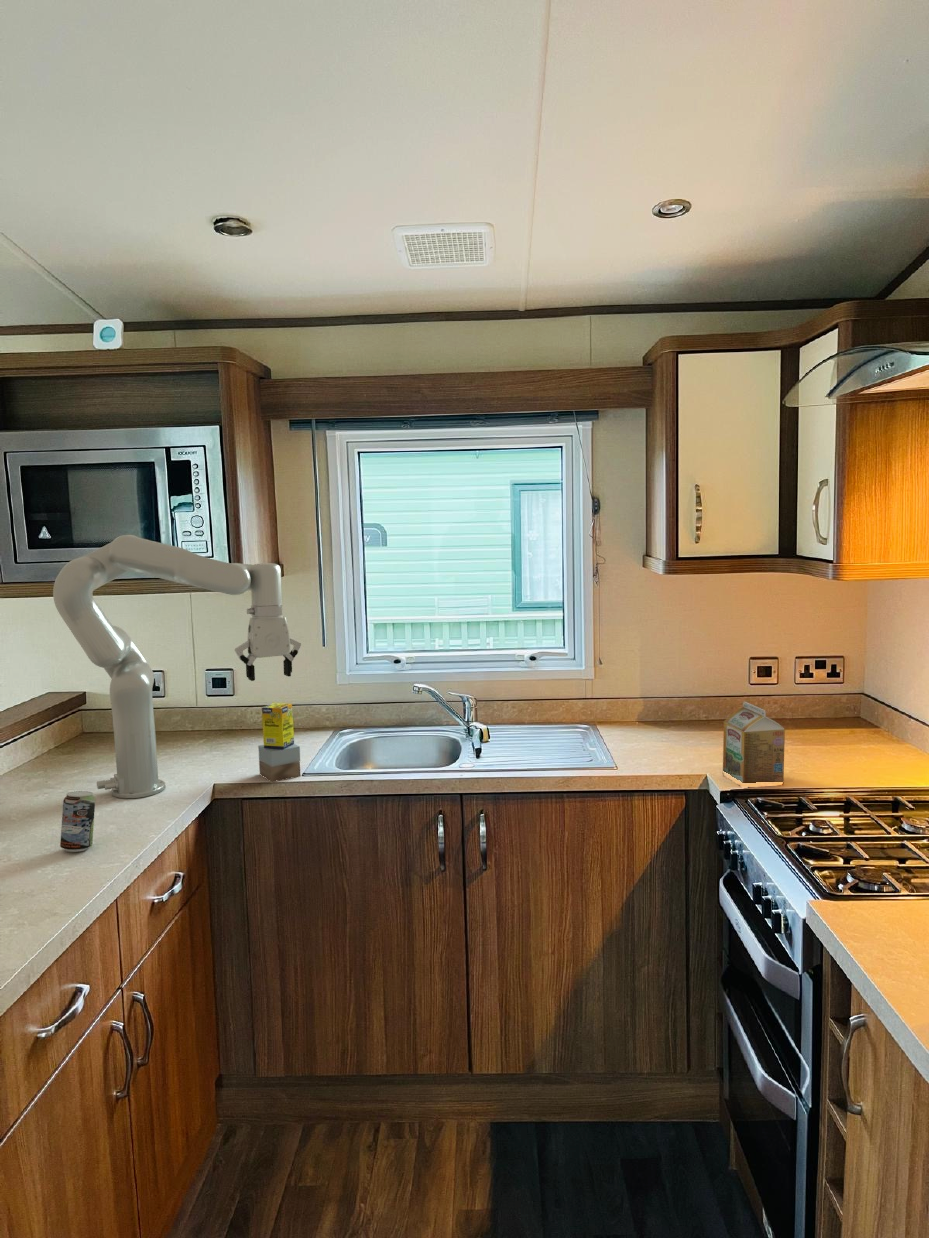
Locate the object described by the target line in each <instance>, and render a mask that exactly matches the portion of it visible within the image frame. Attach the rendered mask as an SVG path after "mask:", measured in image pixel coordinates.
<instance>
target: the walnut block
mask: <svg viewBox="0 0 929 1238" xmlns="http://www.w3.org/2000/svg"><path fill="white" fill-rule="evenodd" d="M258 764H259V765H258V766H259V767H258V769H259V775H260V774H261V775H262V776H261V775H260V776H261V777H263V776H264V777H266V778H267V779H268V781H269V780H270V781H269V782H271V783H273V782H277V781H276V780H279V781H283V780H282V779H284V780H287V779H286V778H289V779H292V778H291V777H294V778H297V777H298V776H299V777H301V761H299V762H294V763H289V764H285V765H280V766H275V767H271V766H269V765H267V764H265V763H263V762H261V761H260V760H259V761H258ZM264 777H263V778H264ZM299 777H298V778H299ZM266 778H265V779H266ZM267 779H266V780H267Z"/></svg>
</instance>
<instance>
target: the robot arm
mask: <svg viewBox="0 0 929 1238" xmlns="http://www.w3.org/2000/svg"><path fill="white" fill-rule="evenodd" d="M129 572H131V573H135V574H140V575H145V576H149V577H154V578H159V579H162V580H166V581H170V582H174V583H178V584H181V585H188V586H193V587H195V588H200V589H205V590H207V591H208V590H209V591H212V592H217V593H222V594H226V595H230V596H240V595H242V594H244V593H246V591H250V592H251V594H250V595H251V605H250V608H247V609H246V614H247V615H251V617H249V621H248V630H247V641H245V642H243V643H242V644H240V645H239V646H237V647H236V648H234V651H235V654H236V656H237V657H238V659H239V660H240V661H241V662H242V663H243V664H244V665H245V672H246V673H245V675H246V678H247V679H248V680H249V681H250V682H254V681H255V680H256V673H255V669H256V668H255V665H254V662H255V661H256V659H257V658H258V659H261V658H263V659H264V658H273V657H283V658H284V659H283V664H282V665H283V675H284V676H286V677H289V678H290V677H292V673H293V661H294V660H295V659H294V658H296V656H297V655H298V654H299V651H300V648H301V646H302V643H301V642H300V641H297V640H295V639H292V638H290V637H291V636H290V631H289V626H288V620H287V617H286V616H285V615H283V601H282V600H283V599H282V597H283V596H282V595H283V594H282V571H281V566H280V565H279V564H277V563H272V562H271V563H267V562H266V563H261V562H260V563H255V564H249V563H241V562H231V563H230V562H226V561H221V560H217V559H213V558H209V557H207V556H203V555H201V554H200V555H199V554H197V553H195V552H192V551H190V550H189V549H185V548H183V547H180V546H175V545H170V544H167V543H162V542H158V541H153V540H150V539H147V538H142V537H139V536H137V535H134V534H123V535H120V536H118V537H116V538H114V539H113V540H112V541H111V542H109V543H107V544H105V545H104V546H102V547H99V548H97V549H95V550H93V551H91V552H89V553H87V554H85V555H83V556H81V557H78V558H77V557H76V558H74V559H72V560H70V561H68V562H67V563H66V564H65V565H64V566H63V567H62V568H61V570H59V573H58V575H56V578H55V581H54V583H53V590H52V595H53V596H52V597H53V601H54V603H53V604H54V605H55V608H56V610H57V613H58V614H59V615H60V617H61V618H62V621H63V622H64V623H65V625H66V626H67V627H68V629H69V631H70V633H71V634H72V635H73V636H74V638H75V640H76V641H77V643H78V644H79V645H80V647H81V648H82V650H83V651H84V653H85V654H86V656H87V658H88V659H89V661H90V662H91V663H92V664H93V665H95V666H96V667H99V668H103V669H104V670H105V672H106V673H107V674H108V676H109V678H110V679H111V681H110V684H109V699H110V700H109V701H110V706H111V714H112V725H113V727H112V728H113V735H114V737H113V739H114V749H115V750H114V751H115V763H116V765H115V766H116V773H113V777H110V778H109V779H107V780H105V779H104V780H99V781H96V789H97V790H102V789H104V790H105V791H106V790H111V796H113V797H115V798H119V799H138V798H139V799H140V798H144V797H149V796H153V795H157V794H158V793H160V792H162V791H164V790H165V788H166V782H165V781H164V780H162V779H160V778H159V770H158V756H157V755H158V753H157V752H158V751H157V737H156V727H155V713H154V703H153V702H154V701H153V686H154V685H155V684H154V683H155V674H154V671H153V669H152V667H151V666H150V664H149V663H148V662H147V660H146V659H145V657H144V656H143V654H142V653H141V651H140V650H139V649H138V647H137V646H136V644H135V643H134V641H133V640H132V638H131V636H130V635H129V634H128V633H127V632H126V631H125V630H124V629H123V628H121V627H119V626H116V625H112V623H111V622H110V621H109V619H108V618H107V616H106V615H105V613H104V611H103V610H102V608H101V607H100V605H98V603H97V602H96V600H95V599H94V595H93V592H94V591H95V590H96V589H99V588H100V587H102V586H104V585H106V584H107V583H110V582H112V581H113V580H116V579H117V578H120V577H122V576H123V575H126V574H127V573H129ZM291 645H292V649H291ZM246 649H247V653H248V655H247V656H245V654H244V651H245V650H246Z"/></svg>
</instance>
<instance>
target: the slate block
mask: <svg viewBox="0 0 929 1238" xmlns="http://www.w3.org/2000/svg"><path fill="white" fill-rule="evenodd" d="M257 747H258V760H259V761H261V762H263V763H265V764H267V765H269V766H271V767H275V766H280V765H285V764H289V763H294V762H301V749H300V748H301V747H300V745H298V744H295V743H294V744H292V745H290V746H288V747H286V748H285V749H270V748H264V744H260V745H258V746H257Z"/></svg>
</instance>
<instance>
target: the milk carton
mask: <svg viewBox="0 0 929 1238" xmlns="http://www.w3.org/2000/svg"><path fill="white" fill-rule="evenodd" d="M785 734H786V729H785V728H784V727H783V726H782V725H781V724H780V723H778V722H776V721H775V720H773V719H772V718H769V717H768V716H766V710H765V709H763V708H760V707H758V706H756V705H754V704H751V703H749V702H747V701H743V702H742V707H740V708H738V709H737V710H735V711H734V712H733V713H731V714H730V715H729V716H727V718H726V719H725V720H723V742H722V743H723V745H722V748H723V751H722V772H723V771H724V772H726V773H728V774H730V775H731V776H732V777H734V778H736V779H737V780H740V781H741V782H742V783H756V782H783V781H785V780H784V777H785V776H784V775H785V774H784V773H785V772H784V771H785V770H784V769H785V738H786V735H785ZM783 783H784V782H783Z"/></svg>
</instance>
